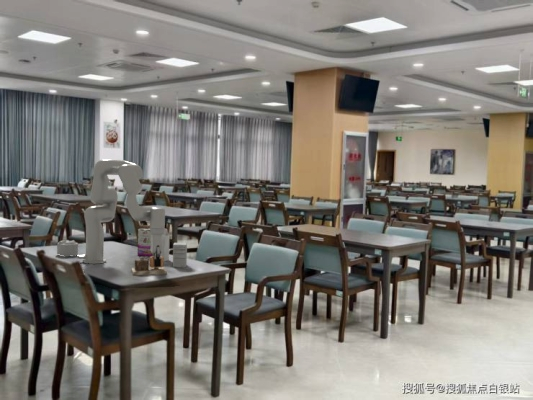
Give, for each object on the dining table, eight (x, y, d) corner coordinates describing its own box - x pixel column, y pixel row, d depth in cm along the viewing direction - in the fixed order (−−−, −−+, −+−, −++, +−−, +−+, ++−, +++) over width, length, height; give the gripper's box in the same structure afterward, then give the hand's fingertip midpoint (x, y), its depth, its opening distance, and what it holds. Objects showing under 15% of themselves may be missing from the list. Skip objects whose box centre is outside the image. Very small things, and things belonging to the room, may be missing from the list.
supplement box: (173, 264, 300) (174, 242, 299) (186, 265, 301) (187, 242, 300) (172, 267, 293) (172, 244, 292) (185, 267, 293) (186, 244, 292)
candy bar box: (157, 256, 326) (157, 229, 325) (152, 257, 322) (153, 230, 321) (141, 254, 330) (142, 228, 329) (137, 255, 326) (137, 228, 325)
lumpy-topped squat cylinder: (63, 257, 310) (63, 242, 310) (53, 254, 319) (53, 239, 319) (80, 255, 318) (80, 241, 317) (69, 252, 327) (70, 238, 326)
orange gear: (150, 268, 273) (150, 258, 273) (148, 265, 280) (148, 256, 279) (164, 267, 275) (164, 258, 275) (162, 265, 282) (162, 255, 282)
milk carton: (164, 262, 307) (165, 229, 306) (152, 261, 308) (153, 228, 307) (168, 260, 314) (169, 228, 313) (157, 259, 315) (158, 227, 314)
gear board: (133, 274, 268) (133, 259, 268) (131, 270, 279) (131, 255, 278) (166, 273, 274) (167, 258, 273) (163, 269, 284) (164, 254, 284)
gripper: (148, 229, 283) (147, 262, 284) (151, 233, 267) (150, 268, 268) (162, 229, 286) (161, 262, 287) (166, 233, 269) (165, 268, 270)
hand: (156, 265), depth 277 cm, fingers closed on orange gear, 6 cm apart
